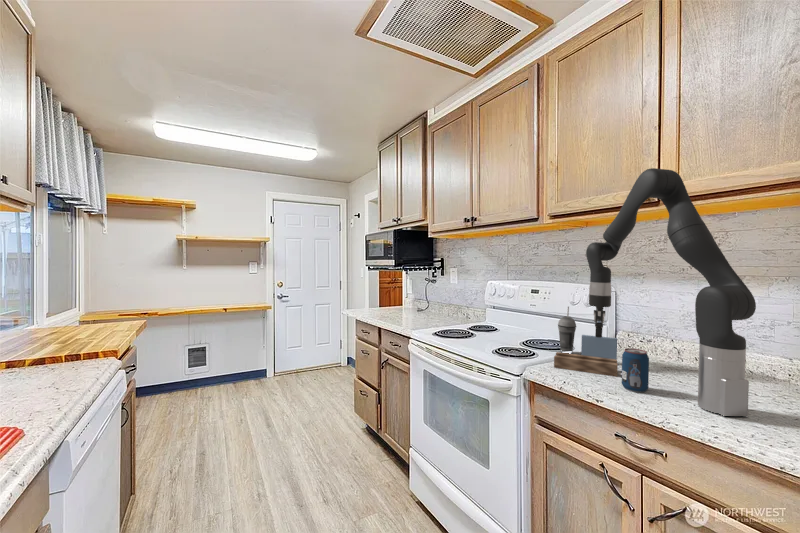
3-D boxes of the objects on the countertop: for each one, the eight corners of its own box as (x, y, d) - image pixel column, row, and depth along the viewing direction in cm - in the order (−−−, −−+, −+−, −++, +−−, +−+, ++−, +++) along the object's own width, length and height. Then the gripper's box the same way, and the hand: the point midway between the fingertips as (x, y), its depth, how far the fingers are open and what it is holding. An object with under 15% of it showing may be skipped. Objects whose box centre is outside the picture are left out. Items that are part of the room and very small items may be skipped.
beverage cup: (572, 350, 157) (572, 305, 156) (578, 355, 149) (579, 307, 149) (554, 350, 157) (555, 304, 157) (560, 354, 150) (561, 307, 150)
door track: (616, 370, 129) (616, 359, 129) (617, 376, 122) (617, 365, 122) (556, 362, 139) (556, 351, 139) (553, 367, 132) (554, 356, 132)
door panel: (616, 364, 137) (617, 338, 137) (616, 365, 136) (617, 339, 135) (581, 359, 143) (582, 334, 143) (581, 360, 142) (581, 335, 141)
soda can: (638, 385, 114) (639, 347, 114) (653, 393, 107) (654, 353, 107) (616, 385, 114) (617, 347, 114) (630, 393, 107) (631, 353, 107)
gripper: (611, 296, 131) (610, 340, 131) (611, 292, 143) (609, 333, 144) (588, 294, 135) (587, 337, 135) (589, 291, 147) (588, 330, 147)
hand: (598, 335), depth 139 cm, fingers open, 8 cm apart
